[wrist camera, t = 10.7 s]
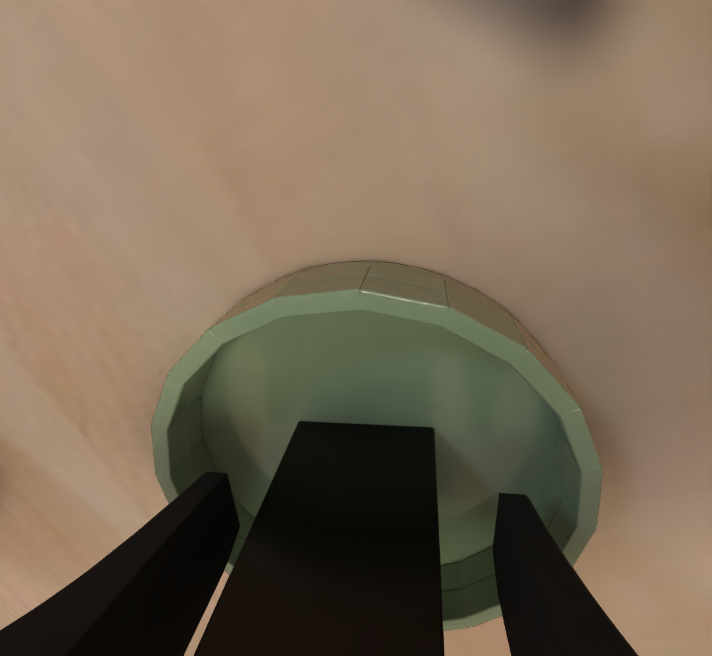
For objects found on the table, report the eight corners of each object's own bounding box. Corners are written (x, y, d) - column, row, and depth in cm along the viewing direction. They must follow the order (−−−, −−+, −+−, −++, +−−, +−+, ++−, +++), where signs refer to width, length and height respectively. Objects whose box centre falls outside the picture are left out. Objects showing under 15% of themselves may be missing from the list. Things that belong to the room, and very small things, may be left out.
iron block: (434, 425, 12) (457, 939, 4) (432, 526, 14) (444, 1021, 6) (298, 419, 12) (101, 853, 5) (311, 515, 14) (183, 946, 7)
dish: (663, 392, 11) (725, 456, 9) (432, 603, 16) (433, 677, 14) (271, 177, 10) (228, 186, 8) (160, 472, 15) (115, 528, 13)
